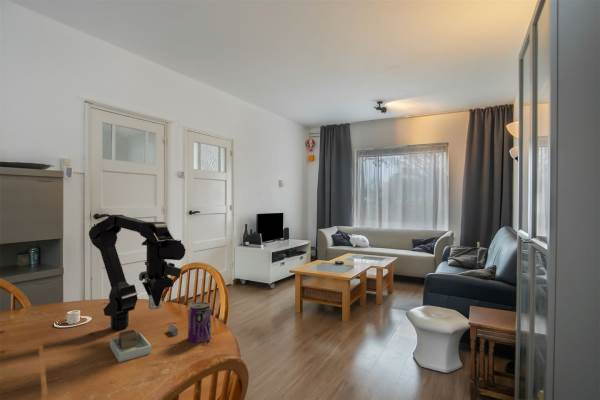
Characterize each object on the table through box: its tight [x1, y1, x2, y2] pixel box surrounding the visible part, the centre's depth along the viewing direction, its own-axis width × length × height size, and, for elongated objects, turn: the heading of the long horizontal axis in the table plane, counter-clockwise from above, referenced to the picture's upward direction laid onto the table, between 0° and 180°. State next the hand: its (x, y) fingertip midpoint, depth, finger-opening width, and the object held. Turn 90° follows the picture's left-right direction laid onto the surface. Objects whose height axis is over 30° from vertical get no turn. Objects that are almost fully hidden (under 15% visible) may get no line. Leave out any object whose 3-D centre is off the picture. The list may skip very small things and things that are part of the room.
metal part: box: [148, 294, 163, 310], centre depth 110 cm, size 4×4×4 cm
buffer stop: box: [167, 324, 179, 337], centre depth 110 cm, size 5×2×3 cm, turn 40°
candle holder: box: [53, 309, 92, 328], centre depth 123 cm, size 12×12×4 cm
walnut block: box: [118, 329, 138, 350], centre depth 100 cm, size 4×4×4 cm
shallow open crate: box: [109, 332, 153, 363], centre depth 97 cm, size 14×8×3 cm, turn 40°
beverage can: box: [187, 301, 212, 344], centre depth 106 cm, size 7×7×12 cm
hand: (155, 304), depth 110 cm, fingers closed on metal part, 4 cm apart
